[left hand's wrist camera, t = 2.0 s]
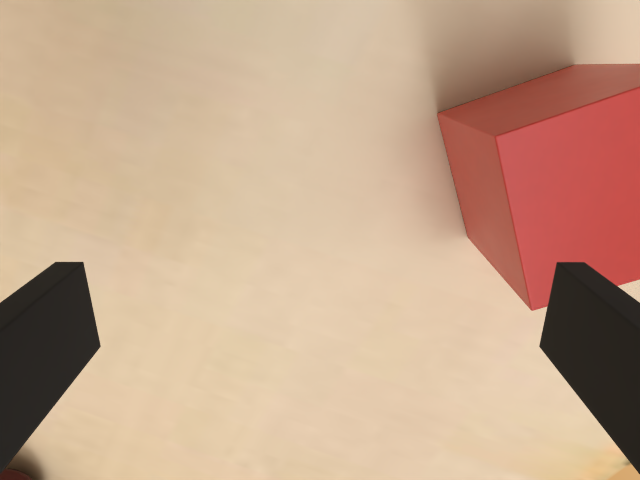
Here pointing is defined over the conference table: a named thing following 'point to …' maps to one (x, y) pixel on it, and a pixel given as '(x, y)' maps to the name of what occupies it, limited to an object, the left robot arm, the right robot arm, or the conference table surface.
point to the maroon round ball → (13, 475)
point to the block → (552, 175)
